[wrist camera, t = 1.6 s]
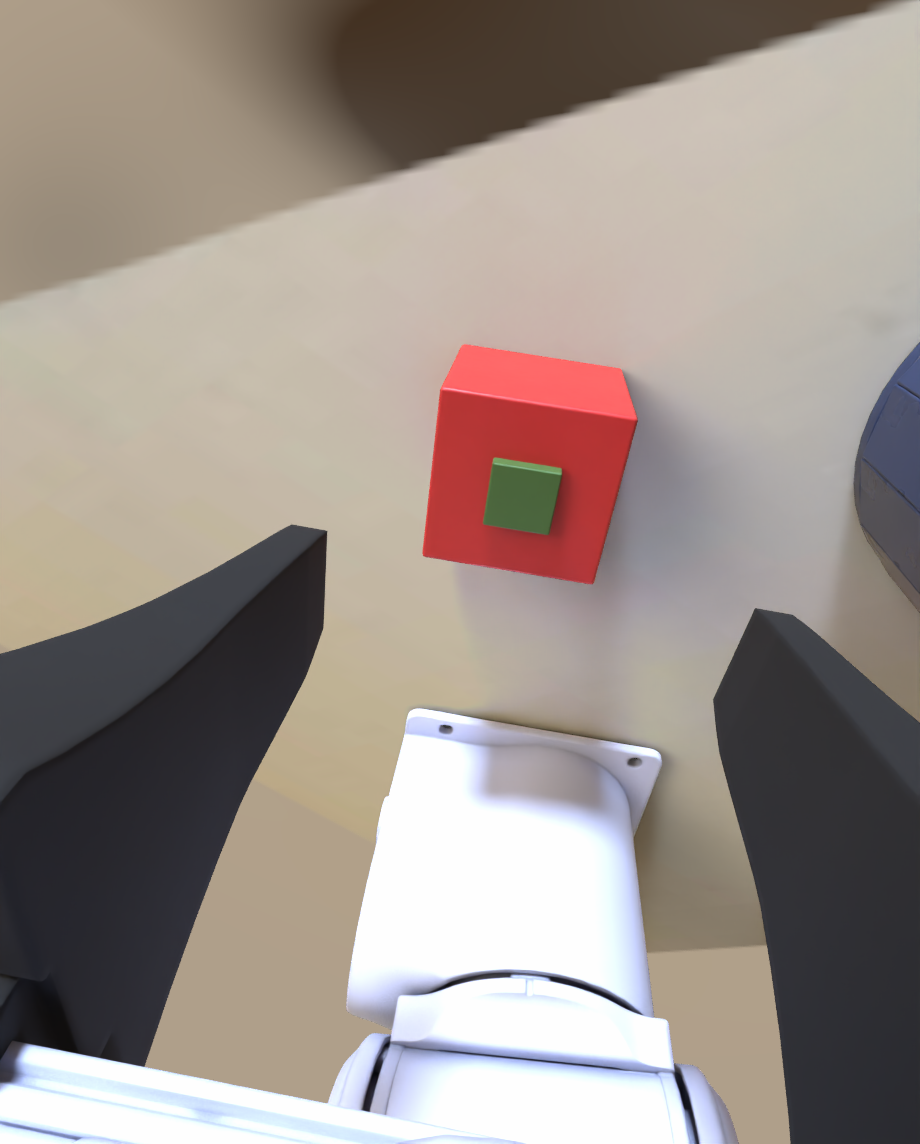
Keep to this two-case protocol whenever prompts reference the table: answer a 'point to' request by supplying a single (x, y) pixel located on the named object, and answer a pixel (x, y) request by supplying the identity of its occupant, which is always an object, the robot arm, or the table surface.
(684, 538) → the table surface
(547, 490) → the block
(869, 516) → the pot
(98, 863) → the robot arm
